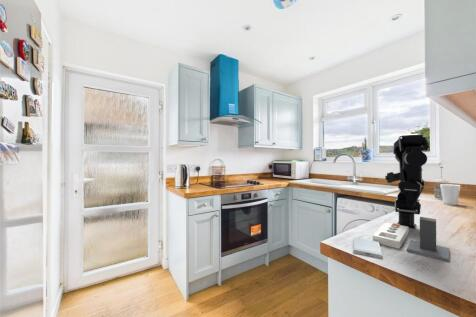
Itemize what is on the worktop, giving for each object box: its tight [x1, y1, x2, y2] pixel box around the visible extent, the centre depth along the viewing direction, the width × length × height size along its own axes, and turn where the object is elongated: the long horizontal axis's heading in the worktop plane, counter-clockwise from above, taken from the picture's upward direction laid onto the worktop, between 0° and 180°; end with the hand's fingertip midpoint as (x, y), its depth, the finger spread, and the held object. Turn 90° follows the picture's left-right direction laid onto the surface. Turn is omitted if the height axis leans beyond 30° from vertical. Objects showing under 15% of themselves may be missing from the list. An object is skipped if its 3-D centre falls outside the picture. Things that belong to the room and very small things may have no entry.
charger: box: [419, 216, 437, 252], centre depth 69 cm, size 4×4×10 cm
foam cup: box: [439, 183, 461, 206], centre depth 138 cm, size 10×9×13 cm
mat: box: [406, 239, 450, 263], centre depth 69 cm, size 11×10×1 cm
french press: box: [432, 166, 450, 201], centre depth 154 cm, size 10×12×25 cm
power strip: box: [372, 222, 410, 250], centre depth 81 cm, size 22×8×3 cm, turn 133°
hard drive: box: [352, 237, 384, 259], centre depth 71 cm, size 2×8×12 cm
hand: (412, 205), depth 79 cm, fingers open, 9 cm apart
